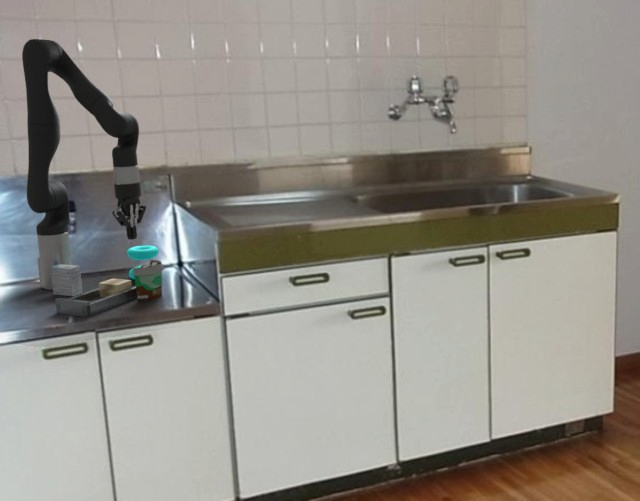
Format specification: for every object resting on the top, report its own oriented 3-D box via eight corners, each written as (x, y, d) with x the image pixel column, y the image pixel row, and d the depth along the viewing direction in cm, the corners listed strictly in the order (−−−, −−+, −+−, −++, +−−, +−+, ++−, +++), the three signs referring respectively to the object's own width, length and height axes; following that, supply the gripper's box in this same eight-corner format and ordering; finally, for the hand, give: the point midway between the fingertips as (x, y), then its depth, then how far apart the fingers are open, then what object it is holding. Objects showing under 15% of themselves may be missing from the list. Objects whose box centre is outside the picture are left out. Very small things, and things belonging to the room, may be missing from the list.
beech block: (100, 296, 216) (98, 283, 215) (113, 291, 221) (112, 278, 221) (118, 298, 213) (117, 285, 212) (132, 293, 218) (131, 280, 217)
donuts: (153, 243, 247) (161, 248, 238) (155, 272, 249) (164, 278, 240) (123, 247, 242) (131, 252, 234) (125, 276, 244) (133, 282, 236)
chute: (56, 313, 204) (55, 299, 203) (115, 291, 225) (114, 279, 224) (87, 317, 199) (85, 302, 198) (144, 294, 220) (143, 281, 219)
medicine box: (83, 293, 225) (80, 265, 223) (72, 297, 221) (69, 268, 219) (63, 291, 228) (60, 263, 226) (52, 294, 224) (49, 267, 222)
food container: (155, 303, 211) (152, 268, 209) (135, 302, 212) (132, 268, 210) (172, 291, 223) (170, 259, 221) (153, 291, 224) (150, 259, 222)
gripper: (131, 178, 226) (136, 234, 229) (101, 184, 214) (107, 242, 218) (151, 179, 223) (156, 235, 226) (121, 184, 211) (127, 243, 215)
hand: (132, 239), depth 222 cm, fingers closed
